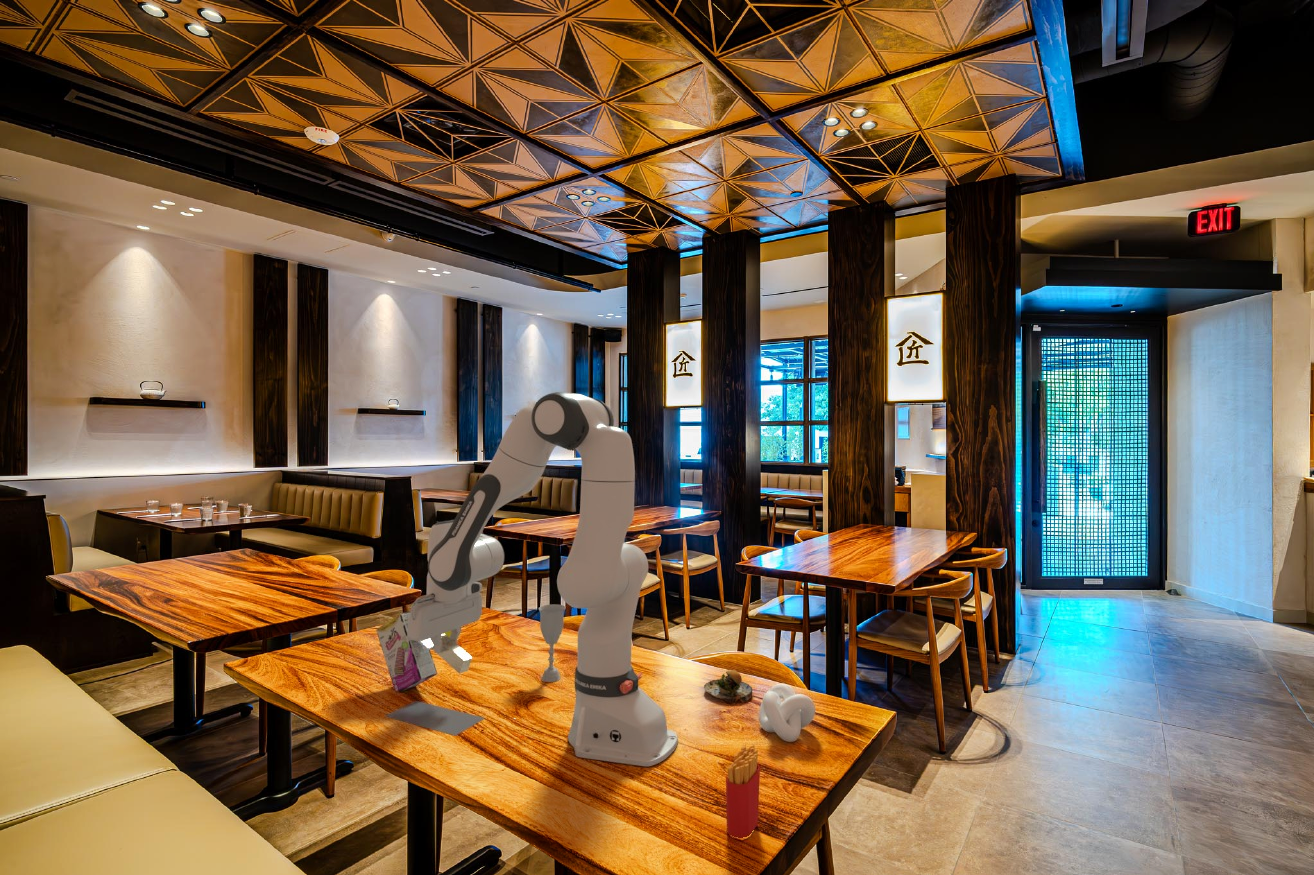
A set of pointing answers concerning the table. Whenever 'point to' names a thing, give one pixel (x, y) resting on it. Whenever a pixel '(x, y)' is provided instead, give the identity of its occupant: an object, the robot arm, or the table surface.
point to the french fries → (743, 793)
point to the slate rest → (435, 717)
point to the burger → (730, 688)
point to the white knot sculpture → (785, 712)
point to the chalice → (551, 635)
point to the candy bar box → (404, 654)
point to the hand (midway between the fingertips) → (445, 649)
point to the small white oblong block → (451, 653)
